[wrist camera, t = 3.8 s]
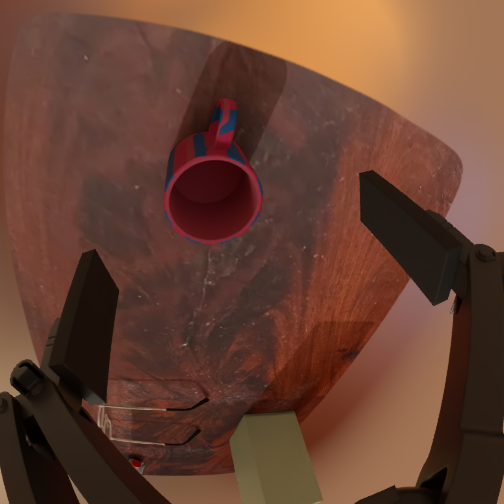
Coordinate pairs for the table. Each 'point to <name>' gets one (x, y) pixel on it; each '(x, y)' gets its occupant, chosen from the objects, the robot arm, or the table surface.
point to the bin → (273, 461)
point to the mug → (212, 183)
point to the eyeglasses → (145, 409)
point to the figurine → (137, 465)
